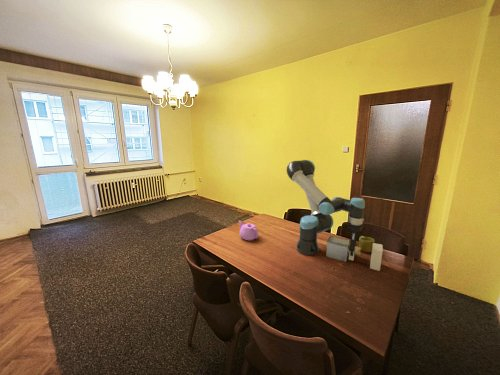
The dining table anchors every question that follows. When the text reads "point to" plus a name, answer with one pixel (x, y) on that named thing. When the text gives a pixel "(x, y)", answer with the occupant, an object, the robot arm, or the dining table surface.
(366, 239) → the mug
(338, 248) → the pale grey box
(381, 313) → the dining table surface
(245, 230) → the teapot
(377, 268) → the socket block
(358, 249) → the tube
